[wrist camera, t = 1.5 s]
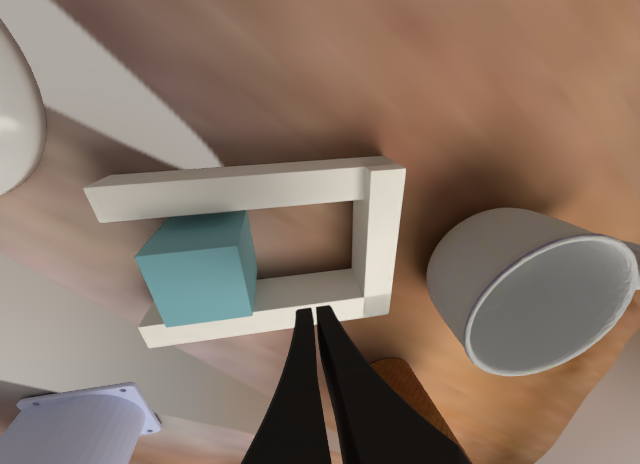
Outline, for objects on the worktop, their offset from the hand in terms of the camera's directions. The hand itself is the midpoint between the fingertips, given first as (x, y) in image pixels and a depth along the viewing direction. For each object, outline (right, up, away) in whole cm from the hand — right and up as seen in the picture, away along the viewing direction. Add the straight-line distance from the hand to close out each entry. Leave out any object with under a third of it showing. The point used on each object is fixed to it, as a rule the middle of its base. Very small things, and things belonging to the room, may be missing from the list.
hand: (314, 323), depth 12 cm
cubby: (-4, +4, +7) cm, 9 cm away
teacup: (+15, +3, +11) cm, 18 cm away
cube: (-7, +3, +7) cm, 10 cm away
